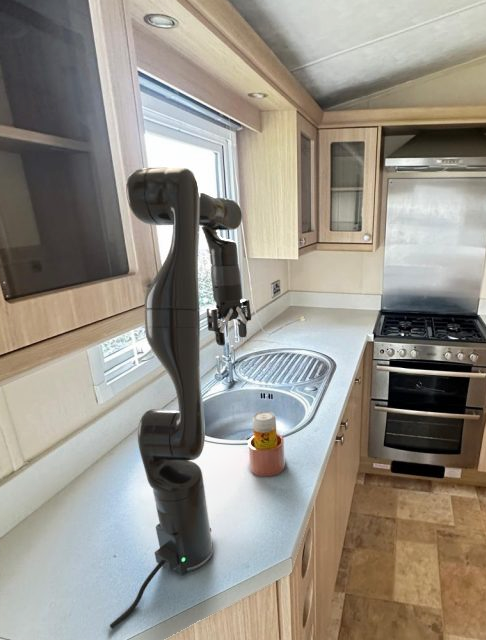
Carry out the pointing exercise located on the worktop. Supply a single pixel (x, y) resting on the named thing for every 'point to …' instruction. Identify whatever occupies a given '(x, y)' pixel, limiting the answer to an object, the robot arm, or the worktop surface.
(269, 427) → the yellow labelled bottle
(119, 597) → the worktop surface
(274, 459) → the holder
